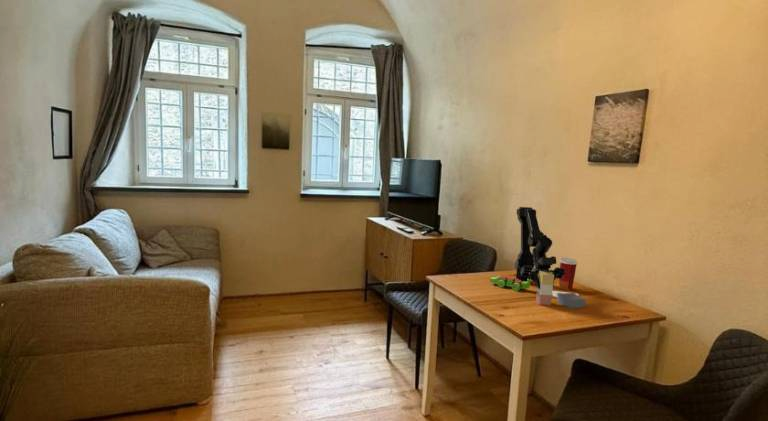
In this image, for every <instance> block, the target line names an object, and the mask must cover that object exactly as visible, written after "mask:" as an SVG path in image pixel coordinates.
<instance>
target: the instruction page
mask: <svg viewBox="0 0 768 421" xmlns="http://www.w3.org/2000/svg"><path fill="white" fill-rule="evenodd" d="M563 293H568V292H566V291H561V290H560V291H559V290H552V298H553V297H554V298H558V294H563ZM574 294H576V295H578V296H580V295H579V293H574Z"/></svg>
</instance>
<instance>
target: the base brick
mask: <svg viewBox="0 0 768 421" xmlns="http://www.w3.org/2000/svg"><path fill="white" fill-rule="evenodd" d="M576 294H577V293H575V294H574V293H573V292H567V293H563V294H558V297H557V301H556V302H558V303H559V304H561V305H563V306H564V307H566V308H568V309H572V308H573V309H574V308H576V309H577V308H585V305H586V299H585V298H584V297H582V296H580V295H579V294H578V295H579V296H578V295H576Z"/></svg>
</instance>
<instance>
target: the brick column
mask: <svg viewBox="0 0 768 421" xmlns="http://www.w3.org/2000/svg"><path fill="white" fill-rule="evenodd" d="M538 279H539V283H540V289H538V287H537V286H536V287H537V288H536V296H535V302H536V303H537V304H538V305H539V306H551V305H552V298H553V295H552V291H554V285H553V282H554V283H555V280H554V274H552V273H551V272H546V271H539V274H538Z"/></svg>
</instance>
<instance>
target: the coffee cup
mask: <svg viewBox="0 0 768 421" xmlns="http://www.w3.org/2000/svg"><path fill="white" fill-rule="evenodd" d="M577 265H578V260H576V259H574V258H572V257H561V258H560V260H559V268H564V269H565V272H566V273H565V275H564V276H563V277H562V278H561V279H559V281H558V283H559V284H558V286H559V287H558V288H559V289H561V290H564V291H572V289H573V286H574V282H575V276H576V271H577Z"/></svg>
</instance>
